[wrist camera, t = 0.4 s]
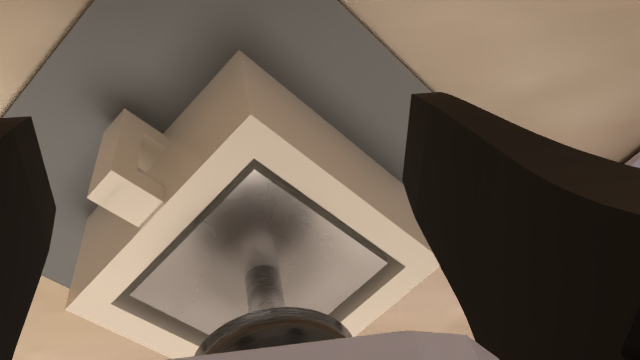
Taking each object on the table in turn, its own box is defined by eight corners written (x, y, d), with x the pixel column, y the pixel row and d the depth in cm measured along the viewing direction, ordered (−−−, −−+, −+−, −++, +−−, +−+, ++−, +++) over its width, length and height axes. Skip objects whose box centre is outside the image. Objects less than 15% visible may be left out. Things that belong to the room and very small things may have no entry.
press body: (403, 184, 25) (444, 261, 21) (260, 313, 28) (272, 404, 23) (197, 15, 20) (198, 74, 16) (44, 193, 22) (11, 285, 18)
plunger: (382, 248, 22) (433, 373, 17) (267, 348, 23) (285, 486, 19) (252, 155, 18) (271, 277, 14) (131, 278, 20) (113, 423, 16)
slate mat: (522, 179, 27) (526, 184, 26) (280, 383, 31) (281, 389, 31) (199, -136, 18) (199, -134, 17) (-73, 212, 22) (-77, 218, 22)
